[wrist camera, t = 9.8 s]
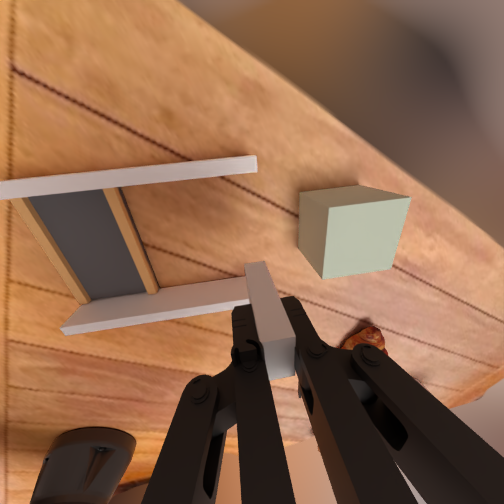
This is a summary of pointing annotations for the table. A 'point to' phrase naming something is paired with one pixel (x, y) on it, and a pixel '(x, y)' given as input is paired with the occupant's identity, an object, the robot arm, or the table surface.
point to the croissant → (367, 339)
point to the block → (350, 229)
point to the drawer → (90, 242)
